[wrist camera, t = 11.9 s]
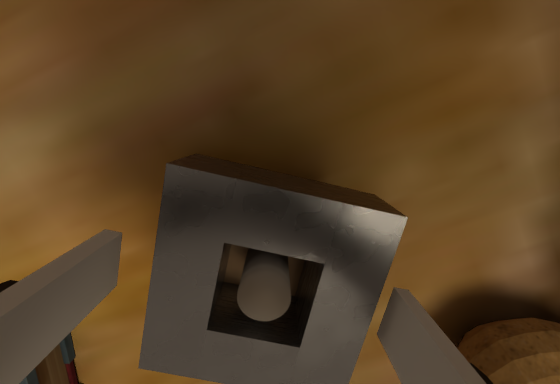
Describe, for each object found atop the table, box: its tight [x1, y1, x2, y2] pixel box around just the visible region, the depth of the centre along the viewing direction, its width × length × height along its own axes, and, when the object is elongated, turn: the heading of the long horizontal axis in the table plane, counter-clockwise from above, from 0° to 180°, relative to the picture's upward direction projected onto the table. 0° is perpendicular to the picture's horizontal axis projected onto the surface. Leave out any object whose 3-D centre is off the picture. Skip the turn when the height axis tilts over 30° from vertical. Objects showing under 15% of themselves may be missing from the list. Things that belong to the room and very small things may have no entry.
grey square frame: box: [139, 154, 408, 384], centre depth 14 cm, size 10×10×4 cm
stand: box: [224, 244, 305, 321], centre depth 16 cm, size 7×7×9 cm
